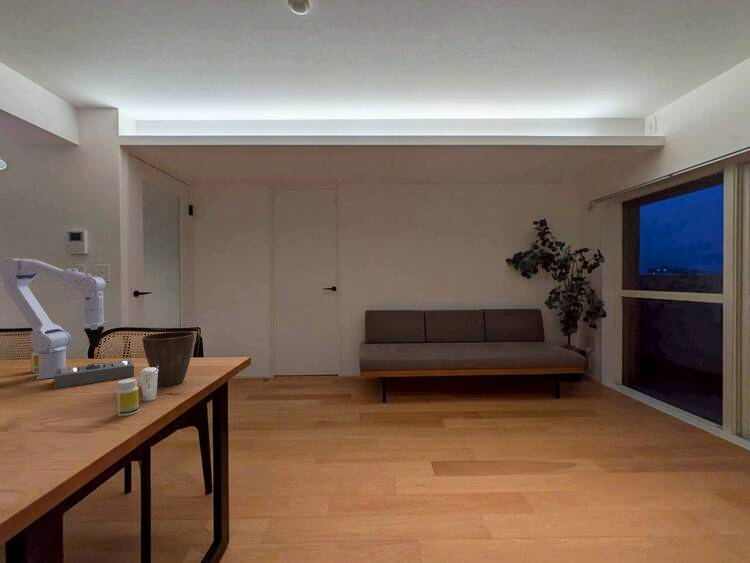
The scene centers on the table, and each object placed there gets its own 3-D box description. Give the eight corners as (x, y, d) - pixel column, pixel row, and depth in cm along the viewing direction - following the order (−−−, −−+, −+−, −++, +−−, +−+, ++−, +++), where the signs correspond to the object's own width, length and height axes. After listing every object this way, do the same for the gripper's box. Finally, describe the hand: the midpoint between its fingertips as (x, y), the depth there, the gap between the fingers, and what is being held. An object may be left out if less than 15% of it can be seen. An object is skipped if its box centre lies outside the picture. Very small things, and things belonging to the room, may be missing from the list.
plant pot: (131, 388, 111) (130, 338, 111) (170, 375, 126) (169, 330, 126) (169, 392, 107) (168, 340, 107) (205, 378, 122) (204, 332, 122)
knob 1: (61, 381, 118) (60, 367, 118) (78, 378, 121) (77, 365, 121) (60, 384, 115) (59, 370, 115) (77, 381, 118) (77, 368, 118)
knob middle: (87, 376, 123) (87, 363, 123) (103, 374, 126) (103, 361, 126) (87, 379, 119) (87, 366, 119) (104, 377, 122) (103, 364, 122)
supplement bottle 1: (27, 372, 132) (27, 346, 131) (44, 368, 137) (43, 344, 137) (38, 373, 130) (37, 347, 130) (54, 369, 135) (53, 344, 135)
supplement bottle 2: (143, 410, 93) (142, 379, 93) (125, 417, 88) (124, 384, 88) (130, 408, 94) (129, 377, 94) (112, 415, 90) (111, 382, 90)
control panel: (56, 380, 120) (56, 369, 120) (131, 370, 133) (130, 359, 133) (54, 388, 112) (53, 376, 112) (134, 376, 125) (133, 365, 125)
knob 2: (112, 373, 127) (112, 360, 127) (127, 371, 130) (127, 359, 130) (113, 376, 124) (113, 363, 124) (128, 373, 127) (128, 361, 127)
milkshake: (152, 402, 99) (151, 367, 98) (136, 401, 100) (135, 366, 99) (165, 397, 103) (164, 363, 103) (149, 395, 104) (148, 362, 104)
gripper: (108, 310, 124) (109, 348, 124) (107, 307, 135) (107, 342, 136) (82, 312, 120) (83, 351, 120) (83, 309, 131) (84, 345, 131)
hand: (94, 347), depth 128 cm, fingers closed
